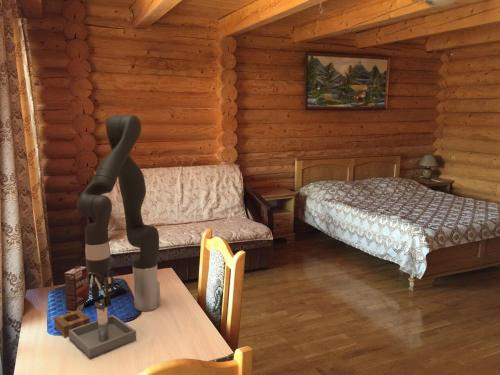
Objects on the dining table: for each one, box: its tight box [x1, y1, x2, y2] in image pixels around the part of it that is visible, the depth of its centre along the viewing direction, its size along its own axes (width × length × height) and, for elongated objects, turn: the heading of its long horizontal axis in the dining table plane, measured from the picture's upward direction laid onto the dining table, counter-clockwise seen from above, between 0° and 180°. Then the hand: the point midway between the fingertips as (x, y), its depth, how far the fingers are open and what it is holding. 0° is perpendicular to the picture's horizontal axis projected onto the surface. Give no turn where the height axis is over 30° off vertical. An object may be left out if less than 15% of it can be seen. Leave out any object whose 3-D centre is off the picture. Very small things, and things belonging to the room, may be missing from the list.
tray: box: [68, 314, 137, 360], centre depth 142 cm, size 16×16×4 cm
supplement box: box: [63, 265, 90, 313], centre depth 164 cm, size 9×5×16 cm, turn 168°
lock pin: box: [94, 299, 109, 342], centre depth 140 cm, size 4×4×13 cm
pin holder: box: [53, 310, 91, 338], centre depth 150 cm, size 9×9×4 cm
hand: (101, 301), depth 140 cm, fingers open, 8 cm apart
